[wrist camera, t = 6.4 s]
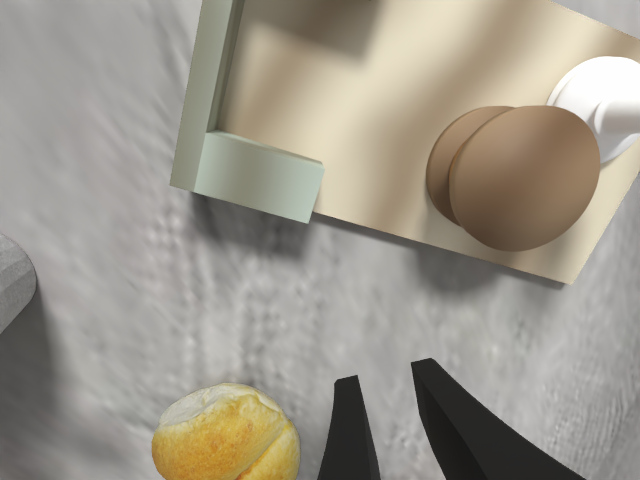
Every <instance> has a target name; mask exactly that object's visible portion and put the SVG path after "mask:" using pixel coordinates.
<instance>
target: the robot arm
mask: <svg viewBox="0 0 640 480" xmlns="http://www.w3.org/2000/svg"><path fill="white" fill-rule="evenodd" d="M411 367H412V373H413V379H414V385H415V391H416V397H417V403H418V409H419V415H420V418H421V420H422V423H423V426H424V429H425V432H426V434H427V437H428V440H429V442H430V445H431V448H432V450H433V453H434V455H435V457H436V459H437V461H438V463H439V465H440V467H441V469H442V472H443V474H444V476H445V478H446V480H586V479H584V478H583V477H581V476H580V475H578V474H577V473H575V472H574V471H572V470H570V469H569V468H567V467H566V466H564V465H563V464H561V463H560V462H558V461H557V460H555V459H554V458H552V457H551V456H549V455H548V454H546V453H545V452H543V451H542V450H540V449H539V448H538V447H536V446H535V445H533V444H532V443H531V442H529V441H528V440H526V439H525V438H524V437H522V436H521V435H520V434H518V433H517V432H516V431H514V430H513V429H512V428H511V427H509V426H508V425H507V424H505V423H504V422H503V421H502V420H500V419H499V418H498V417H497V416H495V415H494V414H493V413H492V412H490V411H489V410H488V409H487V408H486V407H485V406H483V405H482V404H481V403H480V402H479V401H478V400H476V399H475V398H474V397H473V396H472V395H471V394H469V393H468V392H467V391H466V390H465V389H464V388H463V387H462V386H461V385H460V384H459V383H457V382H456V381H455V380H454V379H453V378H452V377H451V376H450V375H449V374H448V373H447V372H446V371H445V370H444V369H443V368H442V367H441V366H440V365H439V364H438V363H437V362H436V361H435V360H434V359H432V358H428V359H424V360H420V361H415V362H411ZM317 480H381V479H380V472H379V466H378V460H377V456H376V452H375V447H374V443H373V439H372V435H371V430H370V426H369V422H368V418H367V413H366V409H365V405H364V401H363V396H362V392H361V388H360V384H359V380H358V376H357V375H355V376H351V377H346V378H342V379H338V380H337V381H336V382H335V383H334V403H333V411H332V418H331V424H330V429H329V434H328V439H327V444H326V448H325V452H324V456H323V460H322V464H321V468H320V472H319V475H318V479H317Z"/></svg>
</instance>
